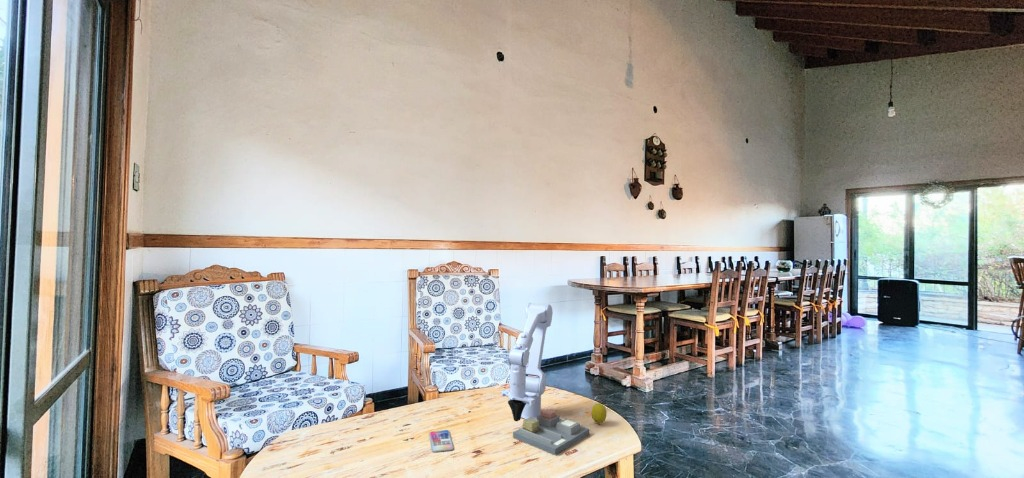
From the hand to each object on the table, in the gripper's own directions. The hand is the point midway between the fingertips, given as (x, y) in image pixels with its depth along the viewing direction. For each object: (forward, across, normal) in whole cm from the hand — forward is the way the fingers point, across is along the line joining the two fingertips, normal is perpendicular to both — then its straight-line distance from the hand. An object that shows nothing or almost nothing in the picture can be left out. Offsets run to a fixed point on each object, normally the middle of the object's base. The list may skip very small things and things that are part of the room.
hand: (517, 420), depth 158 cm
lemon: (+4, +18, +26) cm, 32 cm away
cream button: (+1, +15, +10) cm, 19 cm away
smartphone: (+5, -14, -24) cm, 28 cm away
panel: (+4, +12, +6) cm, 13 cm away
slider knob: (+2, +7, 0) cm, 7 cm away
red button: (0, +6, +10) cm, 12 cm away
